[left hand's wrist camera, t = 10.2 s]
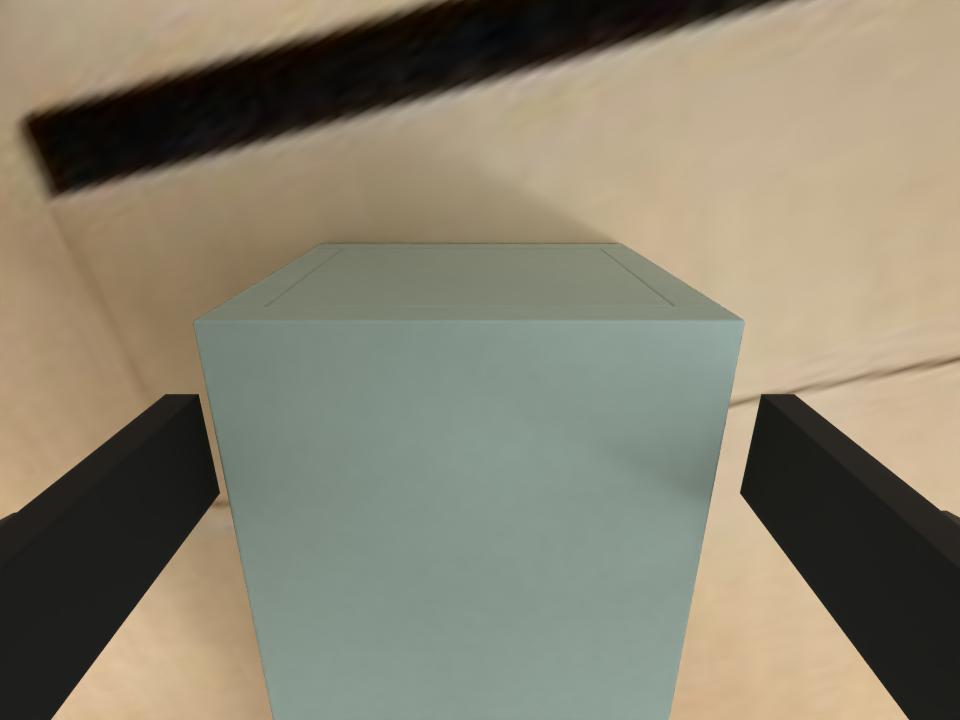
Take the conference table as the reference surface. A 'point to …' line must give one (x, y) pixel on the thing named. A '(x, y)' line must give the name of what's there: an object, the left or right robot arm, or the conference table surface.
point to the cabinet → (470, 476)
